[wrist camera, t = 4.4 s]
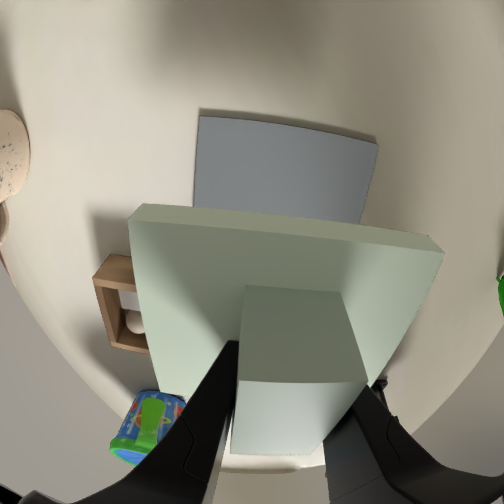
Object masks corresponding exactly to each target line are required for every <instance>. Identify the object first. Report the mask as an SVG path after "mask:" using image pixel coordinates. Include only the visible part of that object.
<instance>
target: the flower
mask: <svg viewBox="0 0 504 504" xmlns="http://www.w3.org/2000/svg"><path fill="white" fill-rule="evenodd" d="M496 280H497V281H498V282H499V286H498V293H499V301H500V305H501V308H502V312H503V316H504V275H503V276H502V278H501V280H500V279H499V278H498V277H497V278H496Z"/></svg>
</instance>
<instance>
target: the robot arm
mask: <svg viewBox="0 0 504 504" xmlns="http://www.w3.org/2000/svg"><path fill="white" fill-rule="evenodd" d="M238 355H239V341H238V340H228V341H227V342H226V344H225V345H224V347H223V348H222V350H221V351H220V353H219V355H218V356H217V358H216V359H215V361H214V362H213V364H212V365H211V367H210V369H209V370H208V372H207V373H206V375H205V376H204V378H203V379H202V381H201V382H200V384H199V385H198V387H197V389H196V390H195V392H194V393H193V395H192V396H191V398H190V399H189V401H188V402H187V404H186V405H185V407H184V408H183V410H182V411H181V413H180V415H179V416H178V417H177V419H176V420H175V422H174V423H173V424H172V426H171V427H170V429H169V430H168V431H167V433H166V434H165V435H164V436H163V438H162V439H161V440H160V441H159V442H158V443H157V445H156V446H155V447H154V448H153V449H152V450H151V451H150V452H149V453H148V454H147V455H146V456H145V457H144V458H143V459H142V461H141V462H140V463H139V464H138V465H137V466H136V467H135V468H134V469H133V470H132V471H131V472H130V473H129V474H127V475H126V476H125V477H124V478H122V479H121V480H120V481H118V482H116V483H115V484H113V485H111V486H109V487H107V488H105V489H103V490H101V491H99V492H97V493H95V494H92V495H90V496H88V497H86V498H84V499H82V500H79V501H77V502H74V503H70V504H212V502H213V498H214V493H215V489H216V485H217V480H218V476H219V472H220V467H221V463H222V459H223V454H224V450H225V445H226V441H227V436H228V432H229V427H230V423H231V418H232V414H233V409H234V401H235V392H236V383H237V371H238ZM387 384H388V382H387V380H380V381H375V382H374V383H373V384H372V386H371V387H369V386H368V385H367V384H366V386H365V387H364V389H363V390H362V391H361V393H360V394H359V396H358V397H357V398H356V400H355V401H354V402H353V404H352V405H351V406H350V408H349V409H348V410H347V412H346V413H345V414H344V416H343V417H342V418H341V419H340V421H339V422H338V423H337V424H336V426H335V427H334V428H333V429H332V430H331V432H330V433H329V434H328V435H327V436H326V438H325V439H324V440H323V447H324V455H325V463H326V472H327V481H328V490H329V500H330V504H504V472H503V473H502V474H500V475H499V476H497V477H488V476H481V475H477V474H472V473H468V472H464V471H459V470H455V469H451V468H448V467H446V466H444V465H441V464H440V463H439V462H438V461H436V460H435V459H434V458H433V457H432V456H431V455H430V454H429V453H428V452H427V451H426V450H425V449H424V448H422V446H421V445H420V444H418V443H417V442H416V441H415V440H414V439H413V438H412V437H411V436H410V434H409V433H408V432H407V431H406V430H405V429H404V428H403V427H402V426H401V424H400V423H399V420H398V417H397V416H395V417H394V416H393V415H392V414H391V413H390V411H389V409H388V406H387V402H386V399H385V396H384V392H383V389H384V388H385V387H386V386H387ZM391 415H392V416H391ZM0 504H66V503H64V502H61V501H59V500H57V499H54V498H52V497H50V496H47V495H45V494H43V493H41V492H39V491H36V490H33V491H31V492H30V493H29V494H27V495H26V496H24V497H23V496H22V495H20V494H18V493H16V492H15V491H13V490H11V489H10V488H8V487H6V486H5V485H3V484H1V483H0Z"/></svg>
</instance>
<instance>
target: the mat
mask: <svg viewBox="0 0 504 504" xmlns="http://www.w3.org/2000/svg"><path fill="white" fill-rule="evenodd" d="M378 146H379V145H378V144H374V143H371V142H367V141H363V140H359V139H355V138H351V137H346V136H342V135H337V134H333V133H328V132H323V131H318V130H313V129H307V128H302V127H296V126H290V125H283V124H277V123H269V122H262V121H254V120H245V119H235V118H223V117H209V116H200V119H199V130H198V143H197V156H196V172H195V191H194V207H201V208H214V209H225V210H236V211H247V212H257V213H267V214H276V215H285V216H294V217H303V218H311V219H319V220H327V221H335V222H343V223H350V224H357V225H359V221H360V218H361V214H362V211H363V207H364V204H365V200H366V196H367V192H368V189H369V185H370V181H371V177H372V173H373V168H374V164H375V160H376V155H377V151H378Z"/></svg>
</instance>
